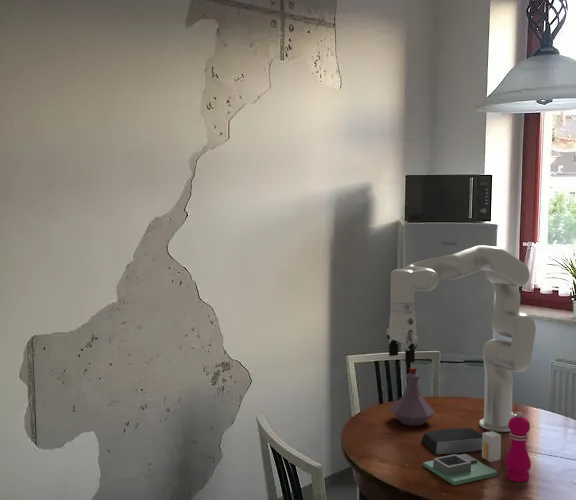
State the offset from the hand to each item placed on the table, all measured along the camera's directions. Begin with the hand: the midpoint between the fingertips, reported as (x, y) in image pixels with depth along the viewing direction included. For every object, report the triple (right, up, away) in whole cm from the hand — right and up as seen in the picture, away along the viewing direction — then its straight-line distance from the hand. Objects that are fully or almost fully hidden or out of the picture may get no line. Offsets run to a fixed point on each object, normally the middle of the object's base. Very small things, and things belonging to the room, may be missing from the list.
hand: (401, 358), depth 221 cm
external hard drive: (+19, -30, +5) cm, 36 cm away
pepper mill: (+31, -32, -21) cm, 49 cm away
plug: (+27, -31, -7) cm, 41 cm away
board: (+15, -31, -16) cm, 38 cm away
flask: (+8, -28, +27) cm, 40 cm away
